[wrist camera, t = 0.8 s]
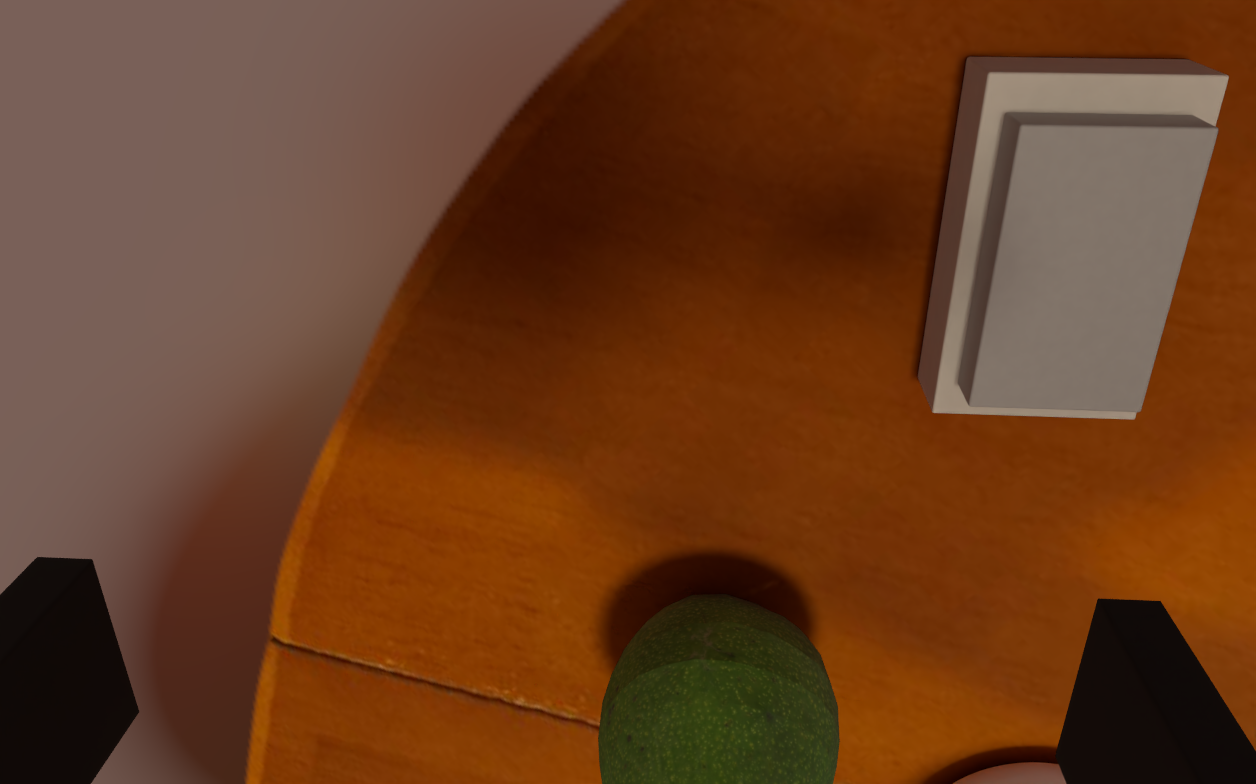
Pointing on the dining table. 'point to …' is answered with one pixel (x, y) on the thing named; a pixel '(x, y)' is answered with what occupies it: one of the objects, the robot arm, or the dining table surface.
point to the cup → (1017, 774)
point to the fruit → (719, 700)
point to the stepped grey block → (1064, 232)
